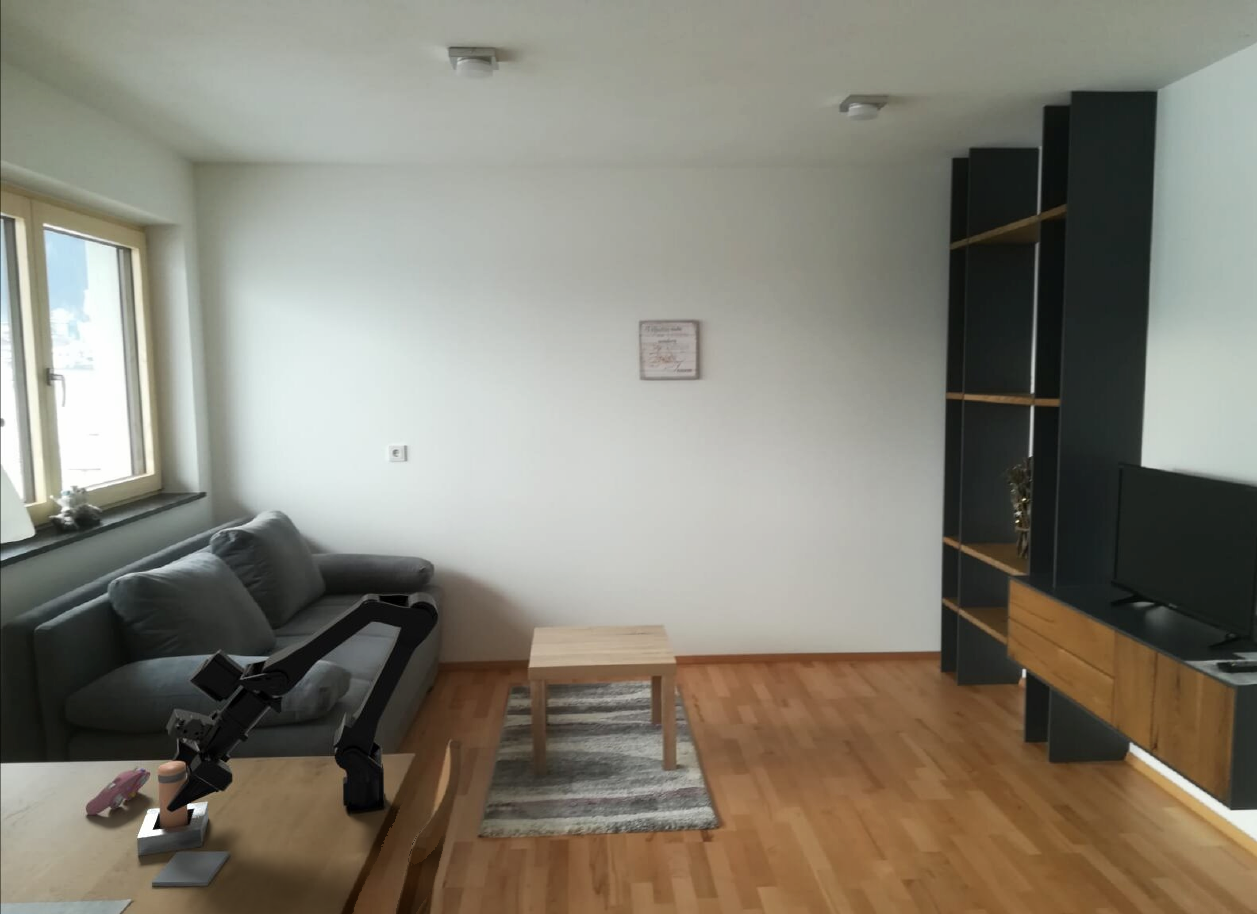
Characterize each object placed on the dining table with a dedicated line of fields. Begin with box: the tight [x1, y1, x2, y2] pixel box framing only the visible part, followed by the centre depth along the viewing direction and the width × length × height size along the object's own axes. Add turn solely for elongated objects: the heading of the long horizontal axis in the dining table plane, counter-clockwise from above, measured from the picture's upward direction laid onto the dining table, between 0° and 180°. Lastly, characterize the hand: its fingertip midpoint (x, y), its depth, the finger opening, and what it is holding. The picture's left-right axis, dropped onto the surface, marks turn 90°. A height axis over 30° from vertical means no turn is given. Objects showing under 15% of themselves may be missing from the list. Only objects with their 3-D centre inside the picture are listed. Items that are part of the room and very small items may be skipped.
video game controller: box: [85, 766, 151, 816], centre depth 151 cm, size 10×5×7 cm, turn 169°
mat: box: [151, 851, 230, 887], centre depth 132 cm, size 8×8×1 cm
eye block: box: [136, 801, 209, 857], centre depth 141 cm, size 9×9×3 cm
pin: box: [157, 761, 188, 829], centre depth 140 cm, size 4×4×12 cm
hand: (165, 797), depth 140 cm, fingers open, 9 cm apart
